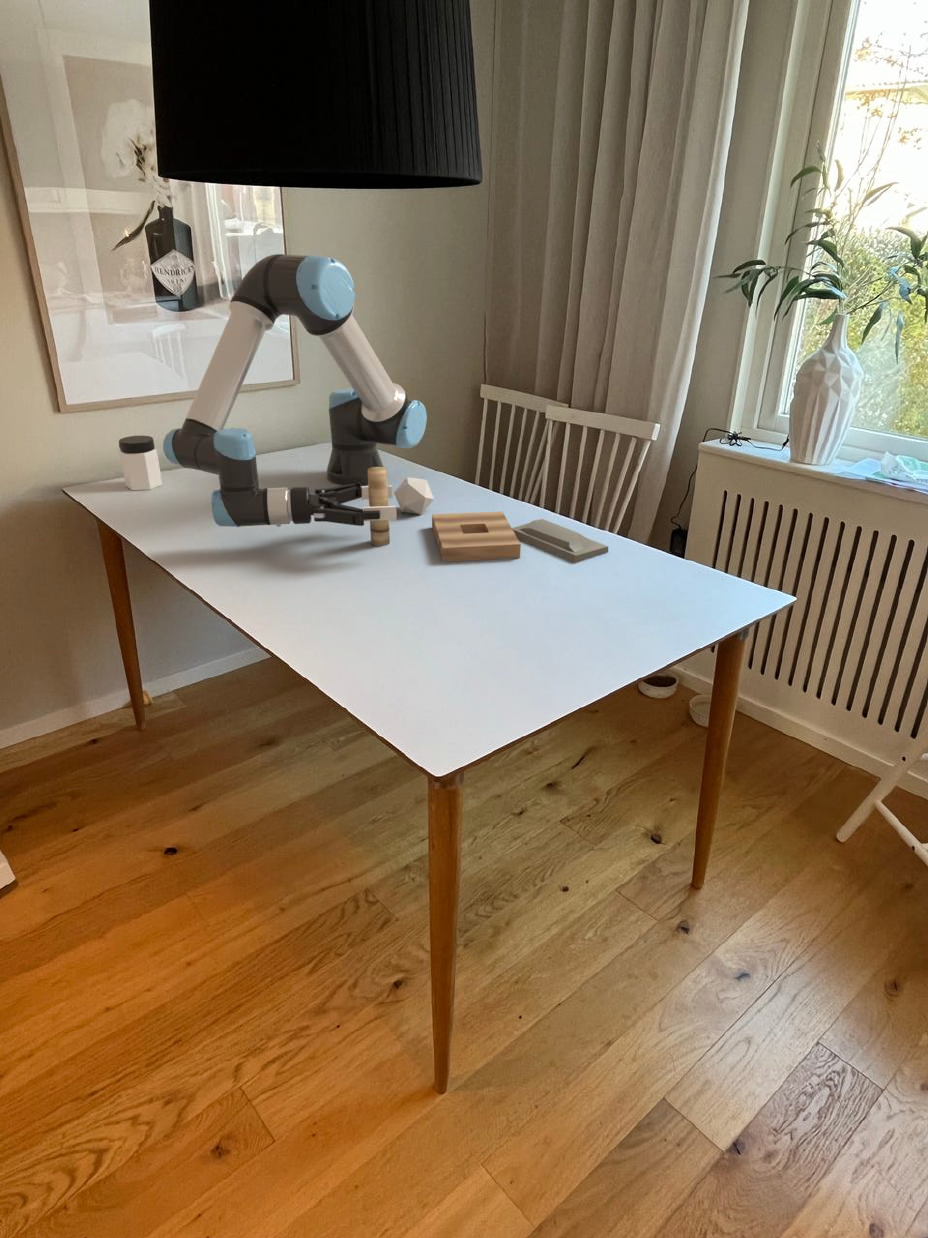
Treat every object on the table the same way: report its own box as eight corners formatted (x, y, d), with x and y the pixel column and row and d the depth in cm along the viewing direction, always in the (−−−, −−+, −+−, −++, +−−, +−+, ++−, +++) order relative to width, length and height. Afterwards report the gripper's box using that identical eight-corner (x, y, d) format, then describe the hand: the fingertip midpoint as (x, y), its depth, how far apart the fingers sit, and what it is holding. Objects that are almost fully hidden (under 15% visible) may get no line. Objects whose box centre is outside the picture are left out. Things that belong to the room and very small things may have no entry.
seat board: (432, 527, 179) (431, 514, 177) (501, 524, 181) (502, 511, 180) (442, 561, 161) (442, 547, 160) (520, 557, 163) (520, 544, 162)
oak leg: (370, 539, 172) (366, 467, 164) (389, 538, 172) (386, 466, 165) (371, 546, 168) (367, 472, 161) (390, 545, 169) (387, 472, 161)
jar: (143, 479, 209) (134, 433, 203) (168, 482, 206) (161, 436, 201) (119, 488, 201) (109, 441, 196) (145, 492, 199) (136, 445, 193)
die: (439, 511, 190) (425, 474, 191) (435, 505, 181) (420, 466, 182) (407, 524, 191) (393, 487, 191) (402, 518, 182) (387, 479, 183)
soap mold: (574, 566, 161) (575, 550, 160) (508, 537, 175) (508, 522, 173) (608, 554, 167) (609, 538, 165) (541, 527, 181) (542, 512, 179)
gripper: (295, 503, 176) (391, 499, 179) (289, 545, 154) (398, 540, 157) (292, 470, 173) (389, 467, 176) (285, 508, 151) (397, 503, 154)
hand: (394, 501), depth 166 cm, fingers open, 13 cm apart
